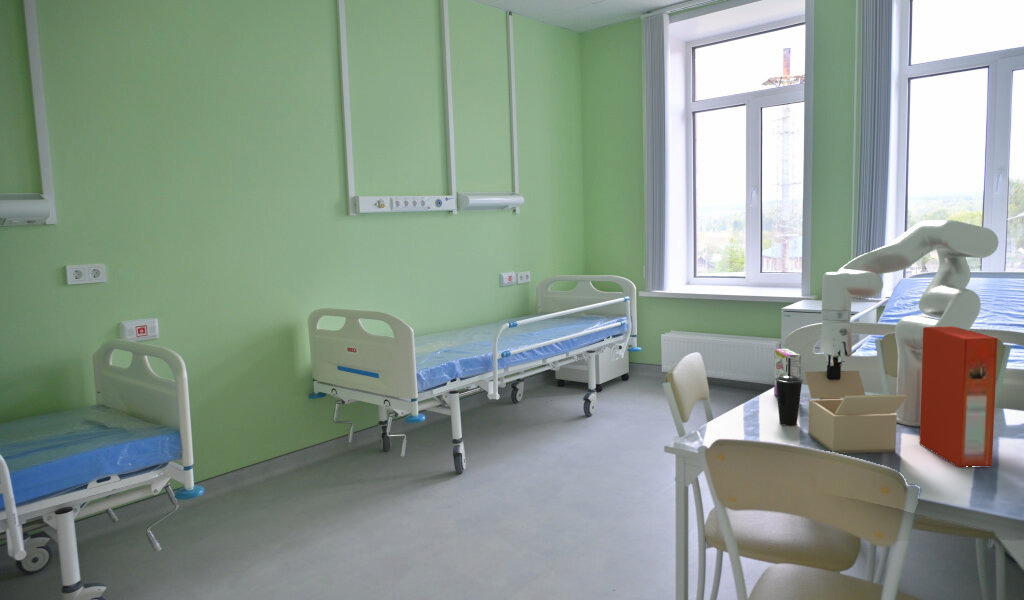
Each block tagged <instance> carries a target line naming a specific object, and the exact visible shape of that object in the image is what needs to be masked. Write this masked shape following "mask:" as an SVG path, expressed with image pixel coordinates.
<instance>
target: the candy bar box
mask: <svg viewBox="0 0 1024 600" xmlns="http://www.w3.org/2000/svg"><path fill="white" fill-rule="evenodd" d="M773 354H774V355H773V356H774V357H773V358H774V361H773V362H774V363H773V364H774V366H773V367H774V372H773V373H774V377H773V379H774V380H773V381H774V382H773V383H774V384H773V387H774V390H773V395H774V396H776V397H777V398H778V396H777V384H776V380H775V378H776V377H779V376H782V375H788V358H791V368H790V375H794V376H797V377H799V378H801V357H802V356H801V354H799V353H797V352H795V351H793V350H791V349H789V348H774V352H773ZM800 403H801V401H800V402H799V404H800Z"/></svg>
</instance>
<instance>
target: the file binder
mask: <svg viewBox="0 0 1024 600" xmlns="http://www.w3.org/2000/svg"><path fill="white" fill-rule="evenodd" d="M997 357H998V337H996V336H995V337H994V336H991V335H988V334H983V333H979V332H976V331H973V330H970V329H969V330H965V329H961V328H958V327H954V326H948V327H925V328H923V352H922V384H921V415H920V427H919V444H920V445H921V444H922V445H923V446H922V445H921V446H922V447H924V446H925V447H924V448H926V449H927V448H928V450H929V449H930V450H929V451H931V450H932V451H933V453H934V452H935V453H934V454H936V453H937V454H938V455H937V454H936V455H937V456H939V455H940V456H939V457H941V456H942V457H943V458H942V457H941V458H942V459H944V458H945V459H944V460H946V459H947V460H948V461H947V460H946V461H947V462H949V461H950V462H949V463H951V462H952V463H953V464H952V463H951V464H952V465H954V464H955V465H954V466H956V465H957V466H958V467H957V466H956V467H957V468H959V467H966V466H968V467H972V466H990V467H992V466H993V451H994V449H993V446H994V429H995V428H994V425H995V404H996V402H995V401H996V381H997V379H996V377H997V360H998V359H997ZM932 451H931V452H932Z"/></svg>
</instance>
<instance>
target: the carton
mask: <svg viewBox="0 0 1024 600" xmlns="http://www.w3.org/2000/svg"><path fill="white" fill-rule="evenodd" d="M842 400H843V398H840V399H824V400H821V399H808V435H810V437H811V438H813V439H814V440H816V441H817V442H818V443H820V444H821V445H822V446H823V447H824V448H826V449H827V450H828V451H830V452H831V451H833V452H838V453H837V454H863V453H865V454H867V453H868V454H869V453H872V454H873V453H874V454H876V453H896V447H897V446H896V445H897V443H896V442H897V424H898V423H897V415H896V414H894V413H886V414H835V412H836V410H837V408H838V407H839V405H840V403H841V402H842ZM844 452H845V453H844Z"/></svg>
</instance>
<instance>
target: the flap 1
mask: <svg viewBox="0 0 1024 600" xmlns="http://www.w3.org/2000/svg"><path fill="white" fill-rule="evenodd" d="M804 375H805V378H806V382H807V387H808V390H809V395H810V399H820V398H840V399H843V398H844V397H845V396H859V395H866V392H865V389H864V384H863V382H862V378H861V375H860V371H859V370H841V377H840V380H829V379H828V378H827V370H826V371H824V370H823V371H821V370H820V371H805V372H804Z"/></svg>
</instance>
